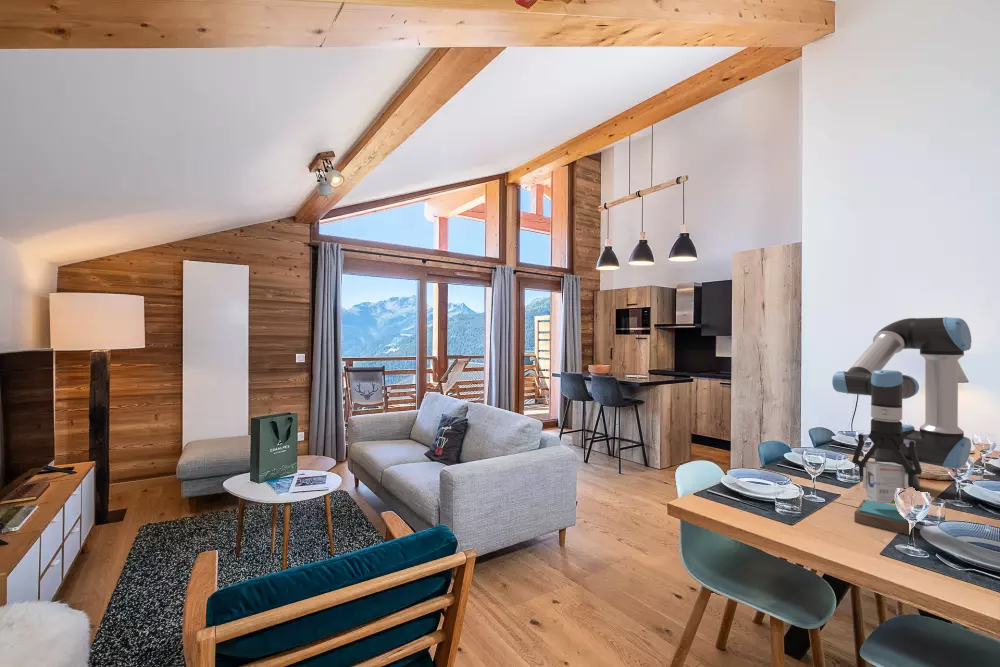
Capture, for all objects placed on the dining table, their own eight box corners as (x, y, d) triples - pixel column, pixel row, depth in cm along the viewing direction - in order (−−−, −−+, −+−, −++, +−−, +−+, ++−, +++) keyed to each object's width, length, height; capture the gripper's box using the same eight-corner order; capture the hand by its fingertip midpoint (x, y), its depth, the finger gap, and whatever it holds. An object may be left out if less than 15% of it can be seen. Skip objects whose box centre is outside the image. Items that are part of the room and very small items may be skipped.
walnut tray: (863, 508, 155) (863, 497, 155) (915, 520, 146) (915, 508, 146) (854, 521, 144) (854, 510, 144) (909, 535, 135) (910, 523, 135)
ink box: (876, 503, 142) (877, 465, 142) (865, 497, 148) (865, 460, 148) (906, 504, 142) (907, 466, 142) (893, 498, 147) (894, 461, 147)
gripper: (840, 416, 150) (840, 485, 150) (933, 426, 134) (932, 503, 134) (845, 413, 155) (844, 480, 155) (935, 423, 139) (934, 497, 139)
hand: (885, 490), depth 145 cm, fingers closed on ink box, 9 cm apart
